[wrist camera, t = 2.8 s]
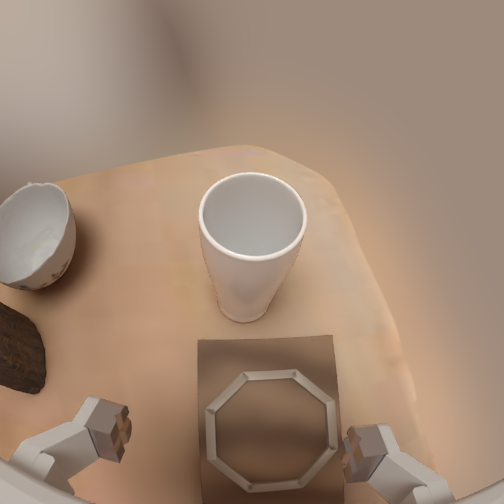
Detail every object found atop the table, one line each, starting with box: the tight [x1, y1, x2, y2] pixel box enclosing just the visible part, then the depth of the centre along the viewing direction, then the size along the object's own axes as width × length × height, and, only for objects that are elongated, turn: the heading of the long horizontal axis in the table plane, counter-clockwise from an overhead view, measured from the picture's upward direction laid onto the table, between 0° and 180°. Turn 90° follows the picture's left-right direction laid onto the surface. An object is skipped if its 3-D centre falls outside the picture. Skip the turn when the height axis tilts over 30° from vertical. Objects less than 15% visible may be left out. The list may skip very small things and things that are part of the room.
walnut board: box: [198, 335, 344, 504], centre depth 24 cm, size 20×13×2 cm, turn 3°
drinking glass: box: [198, 172, 307, 323], centre depth 25 cm, size 7×7×15 cm
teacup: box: [0, 182, 76, 290], centre depth 29 cm, size 15×12×8 cm
